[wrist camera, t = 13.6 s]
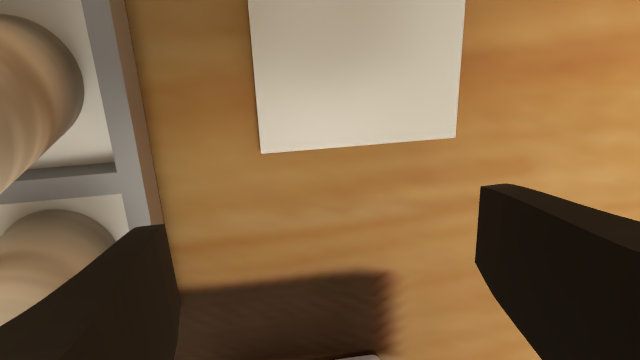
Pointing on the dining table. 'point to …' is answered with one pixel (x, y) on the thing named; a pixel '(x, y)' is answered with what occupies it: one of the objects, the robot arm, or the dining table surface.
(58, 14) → the shallow grey tray
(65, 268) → the cylinder
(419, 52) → the plate
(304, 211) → the dining table surface
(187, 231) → the dining table surface
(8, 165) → the billet
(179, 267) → the dining table surface
